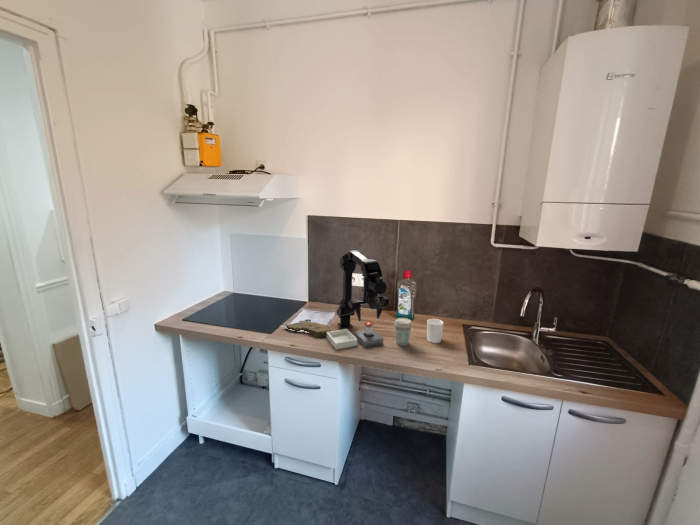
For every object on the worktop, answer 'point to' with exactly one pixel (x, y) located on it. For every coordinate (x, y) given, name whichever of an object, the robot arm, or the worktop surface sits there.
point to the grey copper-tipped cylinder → (368, 329)
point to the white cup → (434, 330)
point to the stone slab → (311, 328)
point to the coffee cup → (402, 331)
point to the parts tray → (341, 339)
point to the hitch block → (369, 338)
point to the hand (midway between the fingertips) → (368, 319)
